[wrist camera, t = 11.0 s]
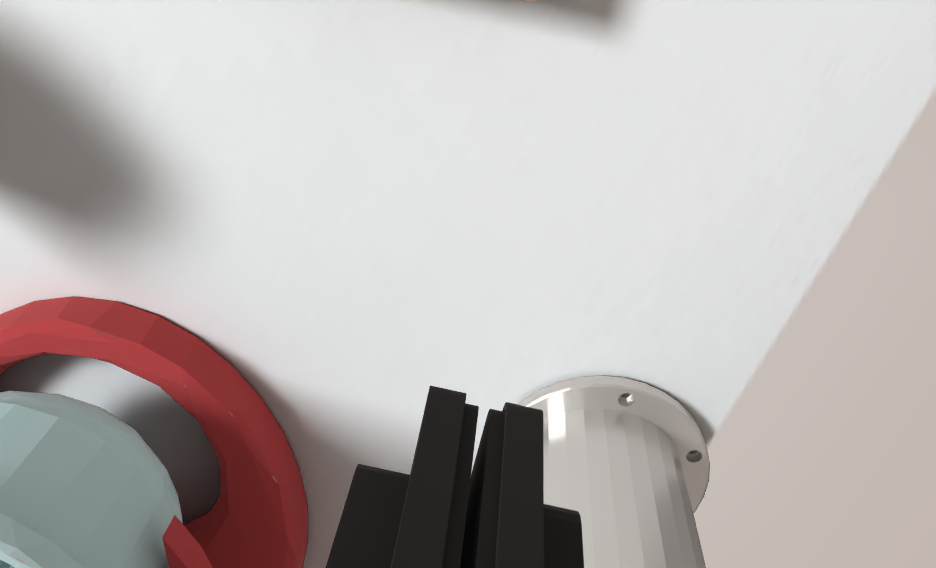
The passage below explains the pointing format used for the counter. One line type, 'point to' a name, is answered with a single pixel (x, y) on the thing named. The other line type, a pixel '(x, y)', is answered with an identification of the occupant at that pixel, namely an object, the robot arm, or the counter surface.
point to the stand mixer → (137, 454)
